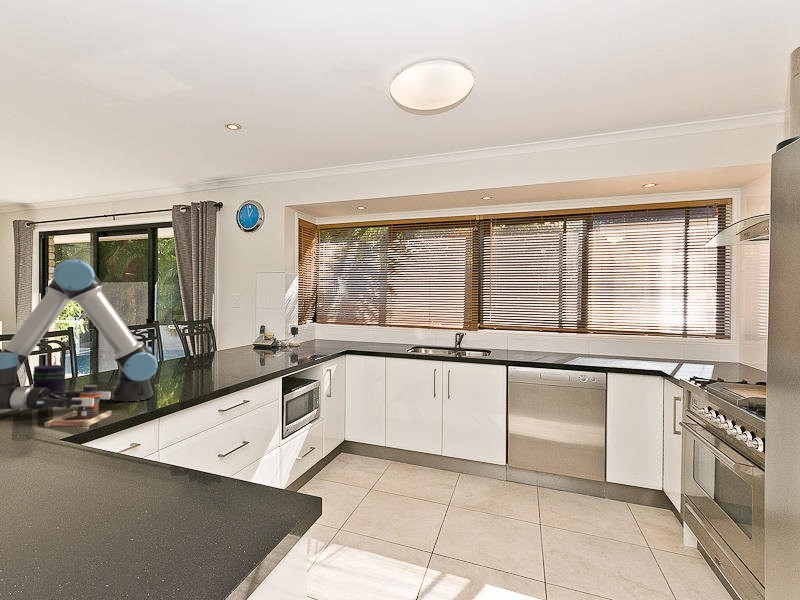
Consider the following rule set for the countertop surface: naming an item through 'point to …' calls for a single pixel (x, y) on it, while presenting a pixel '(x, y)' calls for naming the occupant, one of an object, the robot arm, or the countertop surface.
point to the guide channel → (63, 422)
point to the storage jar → (49, 377)
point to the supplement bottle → (89, 411)
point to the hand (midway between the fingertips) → (101, 398)
